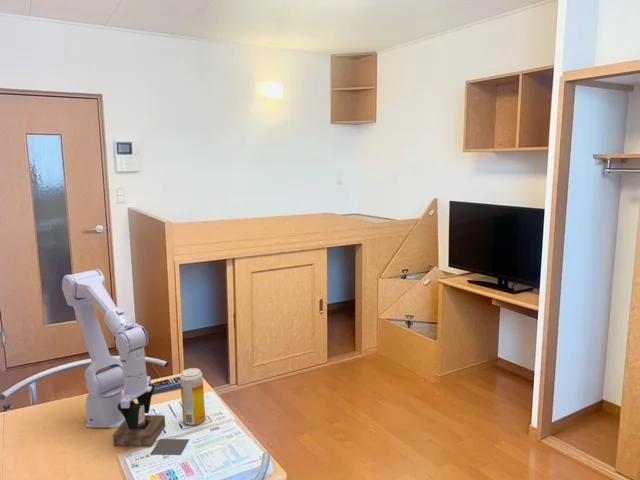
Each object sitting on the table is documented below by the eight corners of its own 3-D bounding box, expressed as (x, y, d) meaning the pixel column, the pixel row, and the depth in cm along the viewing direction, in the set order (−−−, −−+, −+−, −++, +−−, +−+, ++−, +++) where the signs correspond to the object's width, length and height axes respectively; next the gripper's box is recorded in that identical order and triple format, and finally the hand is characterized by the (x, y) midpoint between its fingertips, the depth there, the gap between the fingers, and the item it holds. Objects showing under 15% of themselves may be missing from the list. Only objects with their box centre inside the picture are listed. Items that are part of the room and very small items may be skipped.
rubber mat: (149, 455, 125) (149, 454, 125) (160, 440, 132) (160, 438, 132) (180, 456, 125) (180, 454, 125) (189, 440, 132) (189, 439, 132)
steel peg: (132, 439, 133) (130, 408, 131) (137, 433, 136) (135, 403, 134) (143, 440, 132) (140, 408, 131) (148, 433, 135) (145, 403, 134)
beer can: (208, 416, 144) (205, 367, 141) (201, 427, 138) (197, 376, 136) (188, 415, 145) (184, 367, 142) (180, 426, 139) (176, 376, 136)
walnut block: (114, 447, 129) (112, 434, 129) (130, 426, 139) (129, 415, 139) (151, 447, 129) (150, 435, 128) (165, 426, 139) (164, 415, 138)
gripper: (138, 384, 124) (142, 434, 126) (159, 361, 138) (163, 406, 140) (110, 384, 124) (115, 434, 126) (135, 361, 138) (139, 406, 141)
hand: (139, 419), depth 133 cm, fingers open, 7 cm apart
